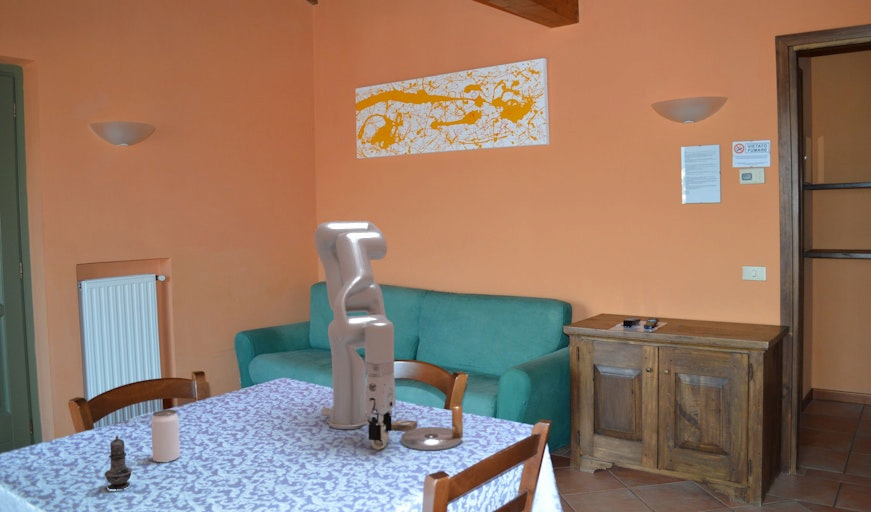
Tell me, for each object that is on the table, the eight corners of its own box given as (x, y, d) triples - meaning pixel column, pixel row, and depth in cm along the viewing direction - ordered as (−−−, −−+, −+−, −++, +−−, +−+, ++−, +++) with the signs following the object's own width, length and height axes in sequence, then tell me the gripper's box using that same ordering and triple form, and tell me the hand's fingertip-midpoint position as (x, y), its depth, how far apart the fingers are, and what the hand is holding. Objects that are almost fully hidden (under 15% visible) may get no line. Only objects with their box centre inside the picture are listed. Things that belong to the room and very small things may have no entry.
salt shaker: (110, 482, 167) (108, 432, 166) (136, 481, 167) (134, 431, 166) (100, 492, 161) (98, 440, 160) (128, 491, 161) (125, 438, 160)
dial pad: (391, 432, 201) (390, 423, 201) (397, 427, 206) (397, 418, 206) (411, 434, 199) (411, 425, 199) (417, 429, 204) (416, 420, 204)
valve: (394, 442, 190) (394, 398, 189) (390, 451, 184) (390, 405, 182) (370, 441, 191) (369, 397, 190) (365, 450, 184) (364, 405, 183)
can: (185, 456, 185) (183, 410, 184) (168, 464, 178) (166, 416, 178) (164, 453, 187) (162, 408, 186) (147, 461, 181) (145, 415, 180)
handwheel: (437, 455, 179) (436, 418, 179) (388, 443, 189) (388, 408, 188) (473, 438, 192) (472, 404, 192) (426, 428, 202) (425, 395, 201)
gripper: (380, 377, 176) (381, 447, 178) (404, 361, 192) (405, 426, 194) (352, 374, 178) (353, 444, 180) (378, 359, 195) (379, 423, 196)
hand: (380, 434), depth 187 cm, fingers closed on valve, 6 cm apart
